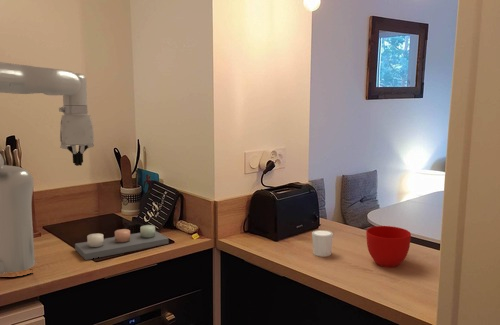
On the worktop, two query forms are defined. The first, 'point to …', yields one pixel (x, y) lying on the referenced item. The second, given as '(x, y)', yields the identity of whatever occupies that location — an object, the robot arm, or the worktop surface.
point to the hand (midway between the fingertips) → (78, 165)
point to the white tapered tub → (322, 242)
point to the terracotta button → (122, 235)
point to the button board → (120, 245)
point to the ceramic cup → (388, 244)
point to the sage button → (147, 231)
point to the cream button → (95, 240)
